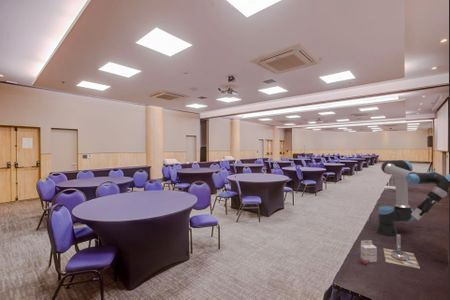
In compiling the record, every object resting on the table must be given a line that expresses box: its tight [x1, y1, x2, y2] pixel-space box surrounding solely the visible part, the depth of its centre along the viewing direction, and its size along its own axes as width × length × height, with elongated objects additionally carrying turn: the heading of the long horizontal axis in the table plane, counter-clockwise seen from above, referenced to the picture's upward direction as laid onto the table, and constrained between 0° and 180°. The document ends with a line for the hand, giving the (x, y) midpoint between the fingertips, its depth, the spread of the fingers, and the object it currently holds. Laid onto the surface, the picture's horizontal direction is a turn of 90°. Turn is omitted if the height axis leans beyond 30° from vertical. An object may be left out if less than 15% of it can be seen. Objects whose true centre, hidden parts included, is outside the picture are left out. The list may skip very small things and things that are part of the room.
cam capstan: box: [391, 233, 409, 260], centre depth 161 cm, size 17×10×13 cm, turn 149°
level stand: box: [383, 247, 421, 269], centre depth 161 cm, size 22×18×2 cm
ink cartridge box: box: [360, 239, 378, 265], centre depth 159 cm, size 9×5×15 cm, turn 92°
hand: (414, 217), depth 164 cm, fingers open, 13 cm apart
